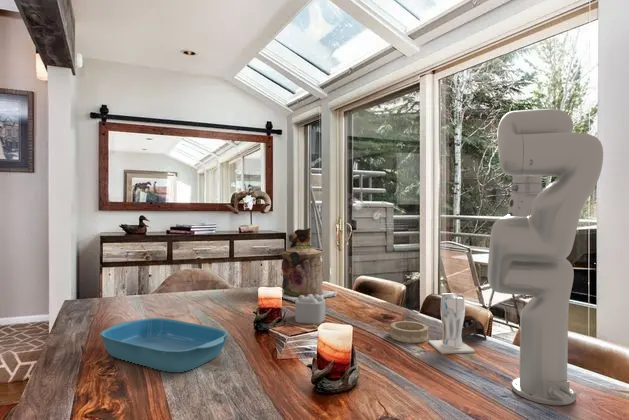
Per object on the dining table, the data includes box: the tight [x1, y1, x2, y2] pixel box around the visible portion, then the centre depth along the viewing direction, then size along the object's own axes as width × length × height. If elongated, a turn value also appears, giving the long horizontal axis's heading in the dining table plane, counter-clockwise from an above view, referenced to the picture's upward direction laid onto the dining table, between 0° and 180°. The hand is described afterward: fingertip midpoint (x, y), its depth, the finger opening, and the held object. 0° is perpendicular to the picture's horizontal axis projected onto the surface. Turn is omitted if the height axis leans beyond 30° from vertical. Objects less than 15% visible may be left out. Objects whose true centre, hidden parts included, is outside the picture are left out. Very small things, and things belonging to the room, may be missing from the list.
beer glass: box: [440, 292, 466, 349], centre depth 127 cm, size 7×7×15 cm
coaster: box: [427, 339, 476, 355], centre depth 127 cm, size 10×10×1 cm
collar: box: [389, 320, 429, 344], centre depth 137 cm, size 12×12×4 cm
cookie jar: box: [280, 227, 338, 303], centre depth 198 cm, size 25×25×32 cm
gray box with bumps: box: [294, 294, 326, 325], centre depth 158 cm, size 10×13×9 cm
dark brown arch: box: [462, 314, 487, 340], centre depth 138 cm, size 12×10×8 cm
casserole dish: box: [100, 317, 229, 373], centre depth 118 cm, size 37×22×7 cm, turn 64°
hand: (526, 248), depth 124 cm, fingers open, 9 cm apart
